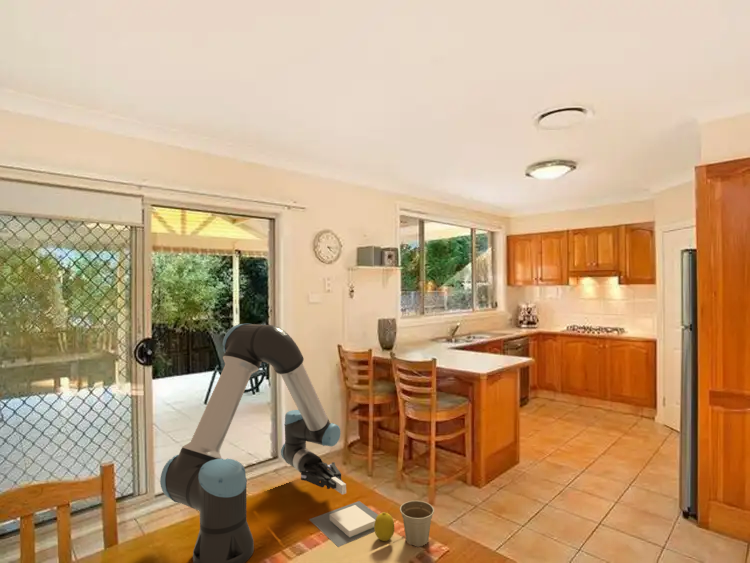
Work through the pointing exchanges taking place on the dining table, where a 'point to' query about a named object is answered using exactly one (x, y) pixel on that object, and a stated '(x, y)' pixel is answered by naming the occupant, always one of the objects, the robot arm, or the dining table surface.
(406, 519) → the flower pot
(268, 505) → the dining table surface
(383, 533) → the lemon
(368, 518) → the tile
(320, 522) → the mat
